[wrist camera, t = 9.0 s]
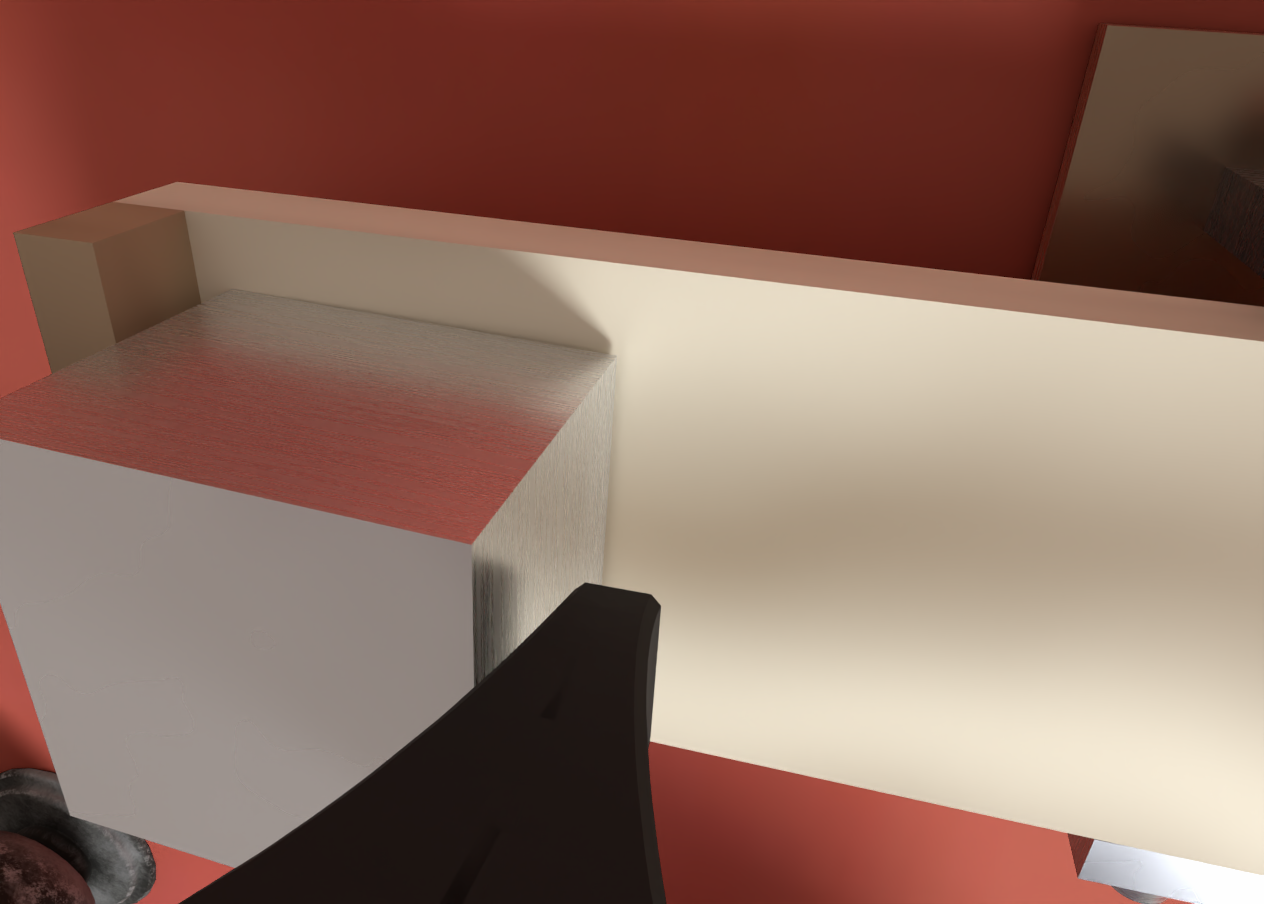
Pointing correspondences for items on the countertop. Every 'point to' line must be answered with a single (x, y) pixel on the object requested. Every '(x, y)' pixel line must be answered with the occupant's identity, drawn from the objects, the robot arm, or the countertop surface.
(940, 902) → the countertop surface
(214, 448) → the steel block
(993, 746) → the beam
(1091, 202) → the pivot stand
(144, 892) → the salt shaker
